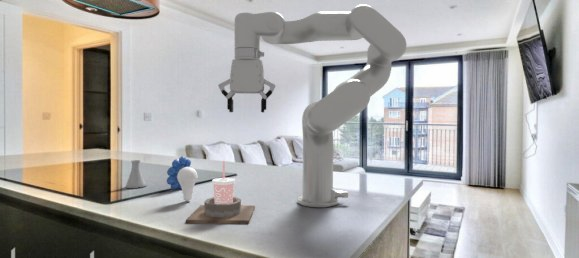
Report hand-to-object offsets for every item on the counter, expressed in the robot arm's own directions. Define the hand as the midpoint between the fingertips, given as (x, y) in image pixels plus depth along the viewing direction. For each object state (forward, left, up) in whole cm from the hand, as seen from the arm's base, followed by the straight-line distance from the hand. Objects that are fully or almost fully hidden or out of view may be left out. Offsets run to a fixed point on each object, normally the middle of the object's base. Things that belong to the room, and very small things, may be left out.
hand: (247, 112), depth 104 cm
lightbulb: (+19, -2, -28) cm, 34 cm away
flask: (+45, -23, -29) cm, 58 cm away
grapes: (+28, -20, -28) cm, 45 cm away
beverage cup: (+5, +12, -28) cm, 31 cm away
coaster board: (+5, +12, -28) cm, 31 cm away
